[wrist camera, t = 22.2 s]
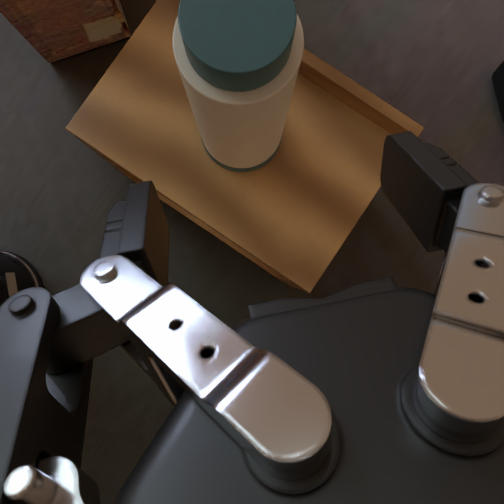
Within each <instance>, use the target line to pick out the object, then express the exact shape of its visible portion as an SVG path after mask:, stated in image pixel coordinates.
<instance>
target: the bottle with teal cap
mask: <svg viewBox="0 0 504 504" xmlns="http://www.w3.org/2000/svg"><path fill="white" fill-rule="evenodd" d="M172 45H173V53H174V57H175V61H176V64H177V67H178V70H179V73H180V76H181V79H182V82H183V85H184V87H185V90H186V93H187V96H188V99H189V102H190V105H191V108H192V111H193V114H194V117H195V120H196V123H197V126H198V129H199V132H200V135H201V139H202V143H203V146H204V148H205V150H206V152H207V154H208V155H209V156H210V158H211V159H212V160H213V161H214V162H215V163H217V164H218V165H219V166H221V167H223V168H225V169H227V170H230V171H234V172H250V171H254V170H256V169H259V168H261V167H263V166H264V165H266V164H267V163H268V162H269V161H270V160H271V159H272V158H273V157H274V156H275V154H276V153H277V151H278V149H279V146H280V143H281V140H282V134H283V129H284V125H285V121H286V117H287V113H288V110H289V106H290V102H291V98H292V94H293V90H294V86H295V83H296V79H297V75H298V71H299V67H300V63H301V59H302V56H303V49H304V35H303V29H302V25H301V21H300V19H299V17H298V14H297V12H296V5H295V2H294V0H180V3H179V8H178V17H177V19H176V22H175V25H174V30H173V37H172Z"/></svg>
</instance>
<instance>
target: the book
mask: <svg viewBox="0 0 504 504" xmlns="http://www.w3.org/2000/svg"><path fill="white" fill-rule="evenodd" d="M0 12H1V13H2V14H3V15H4V16H5V17H6V19H7V20H8V21H9V22H10V23H11V24H12V25H13V26H14V27H15V28H16V29H17V30H18V31H19V32H20V33H21V34H22V35H23V36H24V37H25V39H26V40H27V41H28V42H29V43H30V44H31V45H32V46H33V47H34V48H35V49H36V50H37V51H38V52H39V53H40V54H41V55H42V56H43V58H44V59H45V60H46V61H47V62H48V63H51V62H54V61H57V60H60V59H63V58H67V57H70V56H73V55H76V54H79V53H82V52H85V51H88V50H91V49H94V48H97V47H100V46H103V45H106V44H109V43H112V42H115V41H118V40H121V39H124V38H127V37H130V36H132V35H131V32H130V29H129V26H128V23H127V20H126V17H125V14H124V12H123V9H122V6H121V3H120V0H0Z"/></svg>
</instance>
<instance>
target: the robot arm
mask: <svg viewBox="0 0 504 504" xmlns="http://www.w3.org/2000/svg"><path fill="white" fill-rule="evenodd" d="M380 181H381V187H382V190H383V192H384V194H385V195H386V196H387V198H388V199H389V200H390V202H391V203H392V204H393V206H394V207H395V208H396V210H397V211H398V213H399V214H400V215H401V217H402V218H403V219H404V221H405V222H406V223H407V225H408V226H409V227H410V229H411V230H412V231H413V233H414V234H415V235H416V237H417V238H418V240H419V241H420V242H421V244H422V245H423V246H424V248H425V249H426V250H427V252H433V251H438V250H444V251H445V252H446V253H445V256H444V259H443V263H442V267H441V270H440V274H439V278H438V282H437V285H436V289H435V293H434V294H432V293H429V292H426V291H422V290H418V289H413V288H405V287H397V285H396V284H395V282H394V280H393V278H392V277H388V278H383V279H378V280H373V281H368V282H363V283H358V284H355V285H352V286H350V287H348V288H346V289H343V290H341V291H339V292H337V293H334V294H332V295H330V296H327V297H325V298H319V299H315V298H283V299H278V300H273V301H268V302H263V303H258V304H253V305H248V308H249V314H250V316H249V317H247V318H245V319H243V320H241V321H239V322H238V323H236V324H235V325H233V326H232V327H231V328H230V327H228V326H227V325H226V324H224V323H223V322H222V321H221V320H219V319H218V318H217V317H215V316H214V315H213V314H211V313H210V312H209V311H208V310H206V309H205V308H204V307H202V306H201V305H200V304H198V303H197V302H196V301H195V300H193V299H192V298H191V297H189V296H188V295H187V294H185V293H184V292H183V291H181V290H180V289H179V288H178V287H176V286H175V285H173V284H171V283H168V258H169V229H168V224H167V220H166V216H165V214H164V211H163V208H162V205H161V202H160V199H159V197H158V194H157V191H156V188H155V186H154V183H153V182H152V181H151V180H150V181H145V182H140V183H134V184H130V185H129V187H128V193H127V199H126V200H124V201H119V202H117V203H116V204H115V205H114V207H113V208H112V209H111V210H110V212H109V214H108V219H107V224H106V228H105V233H104V237H103V241H102V246H101V250H100V255H99V259H98V260H96V261H94V262H93V263H91V264H90V265H89V266H88V267H87V268H86V269H85V270H84V271H83V273H82V275H81V279H80V283H79V284H78V285H76V286H74V287H72V288H69V289H67V290H65V291H62V292H60V293H58V294H55V295H53V296H51V294H50V293H49V292H48V290H46V289H45V288H43V287H42V283H41V280H40V277H39V275H38V273H37V272H36V270H35V269H34V267H33V266H32V265H31V264H30V263H29V262H28V261H27V260H25V259H24V258H22V257H21V256H19V255H17V254H14V253H12V252H8V251H0V504H100V494H99V489H98V486H97V484H96V482H95V481H94V479H93V478H91V477H90V476H89V475H88V474H86V473H85V472H84V471H83V470H82V469H80V468H81V459H82V451H83V442H84V434H85V425H86V417H87V408H88V400H89V391H90V383H91V374H92V365H93V358H95V357H97V356H99V355H101V354H103V353H105V352H107V351H109V350H111V349H113V348H115V347H117V346H119V345H120V346H121V347H122V348H123V349H124V350H125V351H126V352H127V353H128V354H129V355H130V356H131V358H132V359H133V360H134V361H135V362H136V363H137V364H138V365H139V366H140V367H141V368H142V369H143V370H144V371H145V373H146V374H147V375H148V376H149V377H150V378H151V379H152V380H153V381H154V382H155V384H156V385H157V386H158V387H159V389H160V390H161V391H162V393H163V394H164V395H165V397H166V398H167V399H168V400H169V401H170V403H171V404H172V405H173V406H174V408H173V409H172V411H171V412H170V414H169V415H168V417H167V418H166V420H165V422H164V423H163V425H162V426H161V428H160V429H159V431H158V432H157V434H156V435H155V437H154V438H153V440H152V441H151V443H150V445H149V446H148V448H147V449H146V451H145V452H144V454H143V455H142V457H141V458H140V460H139V461H138V463H137V465H136V466H135V468H134V469H133V471H132V472H131V474H130V475H129V477H128V478H127V480H126V481H125V483H124V485H123V486H122V488H121V490H120V492H119V494H118V496H117V498H116V501H115V503H114V504H504V186H502V185H499V184H494V183H479V182H478V181H477V180H475V179H474V178H473V177H472V176H471V175H470V174H469V173H468V172H466V171H465V170H464V169H463V168H462V167H461V166H460V165H457V163H456V162H455V161H454V160H453V159H452V158H450V156H449V155H447V154H446V153H445V152H444V151H443V150H442V149H441V148H438V147H436V146H434V145H431V144H429V143H423V142H422V141H421V140H420V139H419V138H418V137H417V136H416V135H414V134H413V133H412V132H411V131H408V132H403V133H397V134H392V135H388V136H387V137H386V138H385V141H384V148H383V157H382V165H381V174H380Z"/></svg>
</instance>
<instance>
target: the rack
mask: <svg viewBox="0 0 504 504" xmlns="http://www.w3.org/2000/svg"><path fill="white" fill-rule="evenodd" d="M179 3H180V0H157V1H156V3H155V4H154V5H153V7H152V8H151V9H150V11H149V12H148V14H147V15H146V16H145V18H144V19H143V21H142V22H141V23H140V25H139V26H138V28H137V29H136V30H135V32H134V33H133V35H132V36H131V37H130V39H129V40H128V42H127V43H126V44H125V46H124V47H123V49H122V50H121V51H120V53H119V54H118V56H117V57H116V58H115V60H114V61H113V62H112V64H111V65H110V67H109V68H108V69H107V71H106V72H105V74H104V75H103V76H102V78H101V79H100V81H99V82H98V83H97V85H96V86H95V88H94V89H93V90H92V92H91V93H90V95H89V96H88V97H87V99H86V100H85V102H84V103H83V104H82V106H81V107H80V109H79V110H78V111H77V113H76V114H75V115H74V117H73V118H72V120H71V121H70V122H69V124H68V125H67V127H66V130H68V131H69V132H70V133H71V134H73V135H74V136H75V137H77V138H78V139H79V140H80V141H82V142H83V143H84V144H86V145H87V146H88V147H89V148H91V149H92V150H93V151H94V152H96V153H97V154H98V155H100V156H101V157H102V158H103V159H105V160H106V161H107V162H109V163H110V164H111V165H112V166H114V167H115V168H116V169H117V170H119V171H120V172H121V173H123V174H124V175H125V176H126V177H128V178H129V179H130V180H132V181H133V182H135V183H140V182H145V181H150V180H151V181H152V182H153V183H154V186H155V188H156V191H157V194H158V197H159V199H160V200H162V201H163V202H165V203H166V204H168V205H169V206H170V207H172V208H173V209H175V210H176V211H178V212H179V213H181V214H182V215H184V216H185V217H187V218H188V219H190V220H191V221H193V222H194V223H196V224H197V225H199V226H200V227H202V228H203V229H205V230H206V231H208V232H209V233H211V234H212V235H214V236H215V237H216V238H218V239H219V240H221V241H222V242H224V243H225V244H227V245H228V246H230V247H231V248H233V249H234V250H236V251H237V252H239V253H240V254H242V255H243V256H245V257H246V258H248V259H249V260H251V261H252V262H254V263H255V264H257V265H258V266H259V267H261V268H262V269H264V270H265V271H267V272H268V273H270V274H271V275H273V276H274V277H276V278H277V279H279V280H280V281H282V282H283V283H285V284H286V285H288V286H291V287H294V288H296V289H299V290H302V291H305V292H308V293H311V291H312V289H313V288H314V286H315V285H316V283H317V282H318V280H319V279H320V277H321V276H322V274H323V273H324V271H325V270H326V268H327V267H328V265H329V264H330V262H331V261H332V259H333V258H334V256H335V255H336V253H337V252H338V250H339V249H340V247H341V246H342V244H343V243H344V241H345V240H346V238H347V237H348V235H349V234H350V232H351V231H352V229H353V228H354V226H355V224H356V223H357V221H358V220H359V218H360V217H361V215H362V214H363V212H364V211H365V209H366V208H367V206H368V205H369V203H370V202H371V200H372V199H373V197H374V196H375V194H376V193H377V191H378V190H379V188H380V187H381V181H380V174H381V165H382V157H383V148H384V141H385V138H386V137H387V136H388V135H392V134H397V133H403V132H408V131H411V132H412V133H413V134H414V135H416V136H417V137H418V136H419V135H420V133H421V132H422V130H423V129H424V127H422V126H421V125H419V124H418V123H416V122H415V121H413V120H412V119H410V118H409V117H407V116H406V115H404V114H403V113H401V112H400V111H398V110H397V109H395V108H394V107H392V106H391V105H389V104H388V103H386V102H385V101H383V100H382V99H380V98H379V97H377V96H375V95H374V94H372V93H371V92H369V91H368V90H366V89H365V88H363V87H362V86H360V85H359V84H357V83H356V82H354V81H353V80H351V79H350V78H348V77H347V76H345V75H344V74H342V73H341V72H339V71H338V70H336V69H335V68H333V67H332V66H330V65H329V64H327V63H326V62H324V61H323V60H321V59H320V58H318V57H317V56H315V55H314V54H312V53H310V52H309V51H307V50H306V49H303V56H302V59H301V63H300V67H299V71H298V75H297V79H296V83H295V86H294V90H293V94H292V98H291V102H290V106H289V110H288V113H287V117H286V121H285V125H284V129H283V134H282V140H281V143H280V146H279V149H278V151H277V153H276V154H275V156H274V157H273V158H272V159H271V160H270V161H269V162H268V163H267V164H266V165H264V166H263V167H261V168H259V169H256V170H254V171H250V172H234V171H230V170H227V169H225V168H223V167H221V166H219V165H218V164H217V163H215V162H214V161H213V160H212V159H211V158H210V156H209V155H208V154H207V152H206V150H205V148H204V146H203V143H202V139H201V135H200V132H199V129H198V126H197V123H196V120H195V117H194V114H193V111H192V108H191V105H190V102H189V99H188V96H187V93H186V90H185V87H184V85H183V82H182V79H181V76H180V73H179V70H178V67H177V64H176V61H175V57H174V53H173V45H172V37H173V30H174V25H175V22H176V19H177V17H178V8H179Z"/></svg>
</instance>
